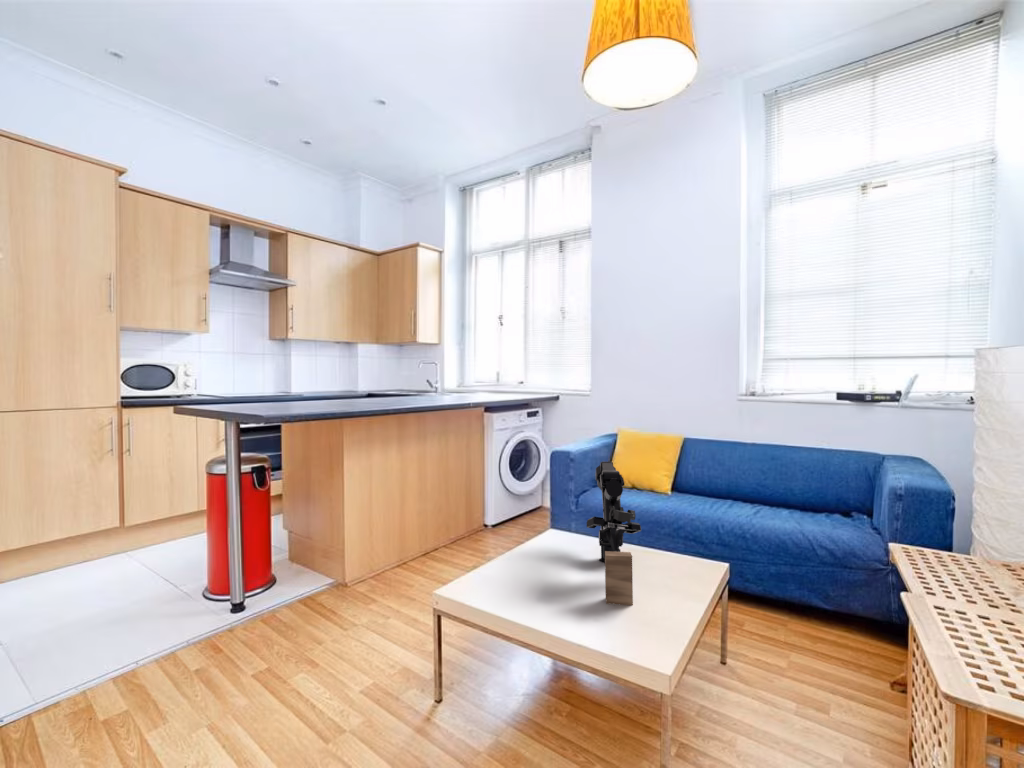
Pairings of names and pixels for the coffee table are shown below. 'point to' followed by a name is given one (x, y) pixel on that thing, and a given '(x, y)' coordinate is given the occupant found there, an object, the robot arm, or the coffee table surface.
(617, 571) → the walnut card box
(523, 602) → the coffee table surface
